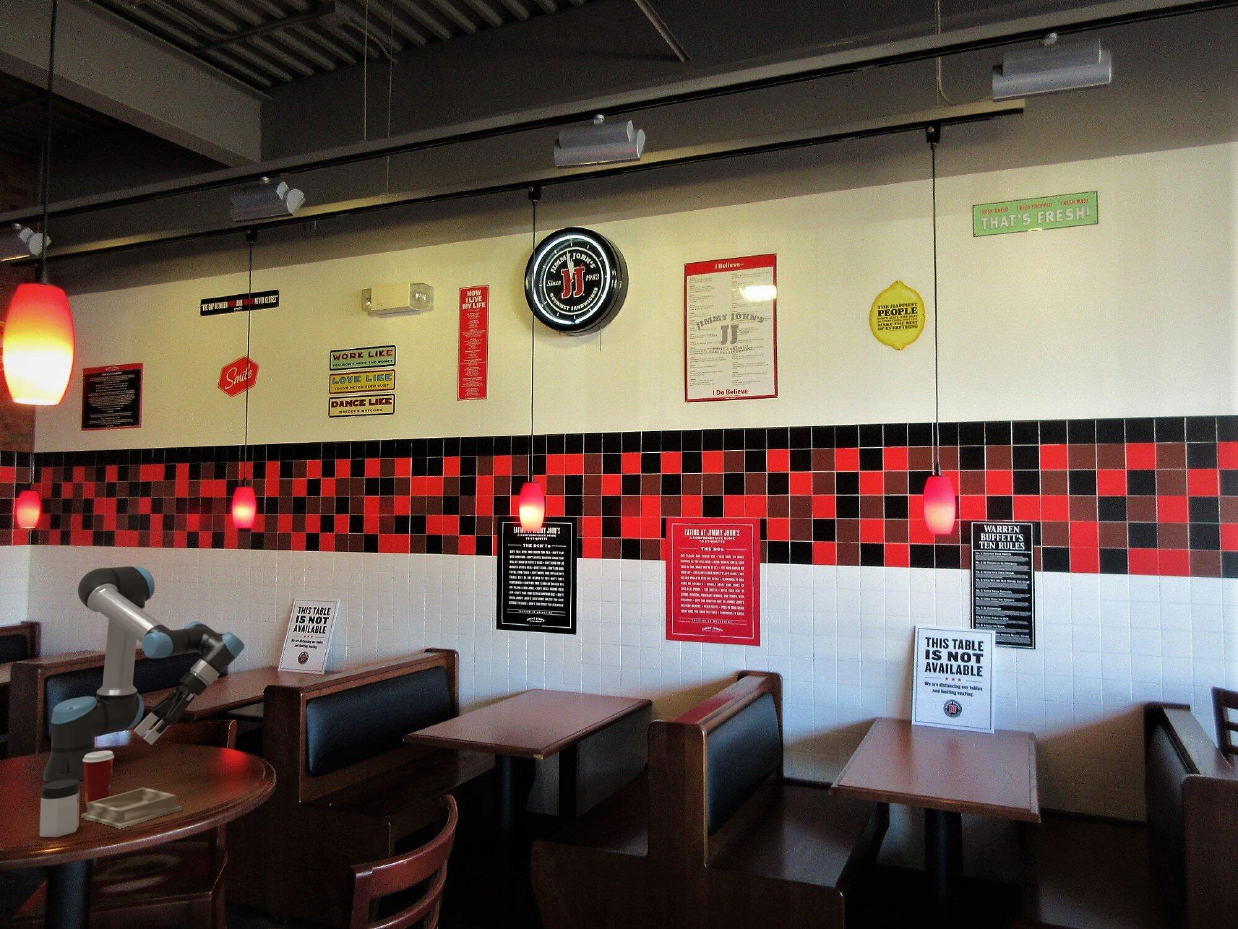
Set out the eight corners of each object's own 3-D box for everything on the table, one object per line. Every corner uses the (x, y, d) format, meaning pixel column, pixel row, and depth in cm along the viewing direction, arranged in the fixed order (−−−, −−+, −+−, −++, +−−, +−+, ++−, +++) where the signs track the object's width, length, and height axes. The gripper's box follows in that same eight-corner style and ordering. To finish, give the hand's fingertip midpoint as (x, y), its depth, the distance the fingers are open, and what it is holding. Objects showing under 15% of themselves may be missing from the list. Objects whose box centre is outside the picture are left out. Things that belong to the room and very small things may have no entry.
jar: (43, 829, 224) (45, 781, 225) (80, 824, 227) (82, 777, 228) (36, 840, 216) (38, 790, 217) (75, 835, 219) (76, 786, 220)
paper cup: (119, 801, 246) (120, 751, 247) (95, 810, 239) (96, 758, 240) (98, 799, 248) (100, 749, 249) (74, 807, 241) (75, 756, 242)
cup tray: (81, 818, 232) (81, 802, 232) (143, 800, 247) (143, 786, 247) (119, 829, 223) (120, 813, 223) (181, 810, 238) (182, 795, 238)
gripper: (220, 691, 254) (162, 753, 243) (197, 681, 273) (143, 738, 262) (200, 675, 251) (141, 737, 240) (179, 665, 270) (123, 722, 259)
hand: (142, 737), depth 251 cm, fingers open, 13 cm apart
